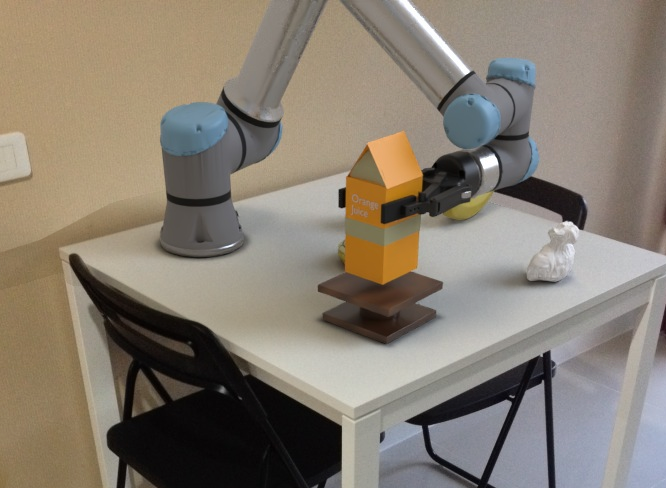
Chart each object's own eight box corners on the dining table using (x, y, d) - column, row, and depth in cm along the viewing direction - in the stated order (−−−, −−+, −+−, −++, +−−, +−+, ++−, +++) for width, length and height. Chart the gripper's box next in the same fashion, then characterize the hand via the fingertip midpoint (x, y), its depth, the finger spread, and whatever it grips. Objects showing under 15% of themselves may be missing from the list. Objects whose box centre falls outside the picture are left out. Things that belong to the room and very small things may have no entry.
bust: (531, 300, 168) (574, 261, 159) (505, 265, 169) (546, 224, 160) (567, 280, 176) (610, 241, 167) (542, 246, 176) (583, 206, 167)
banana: (454, 232, 188) (463, 124, 176) (428, 226, 191) (435, 119, 179) (507, 201, 203) (518, 100, 191) (482, 196, 206) (492, 95, 194)
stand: (317, 320, 155) (317, 284, 152) (372, 293, 164) (373, 259, 161) (387, 346, 148) (388, 309, 145) (440, 316, 157) (443, 281, 153)
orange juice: (343, 271, 151) (345, 137, 139) (379, 255, 156) (384, 125, 144) (383, 285, 147) (388, 148, 135) (418, 268, 152) (426, 135, 140)
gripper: (513, 215, 151) (412, 251, 138) (414, 183, 163) (313, 213, 150) (518, 166, 147) (414, 198, 134) (416, 136, 159) (312, 163, 146)
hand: (361, 206), depth 142 cm, fingers closed on orange juice, 8 cm apart
